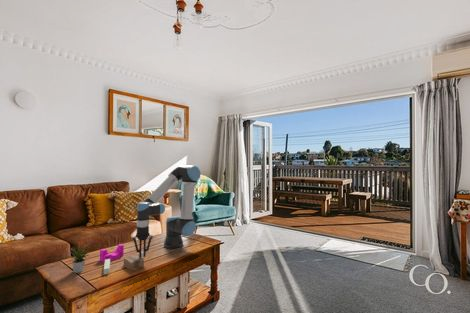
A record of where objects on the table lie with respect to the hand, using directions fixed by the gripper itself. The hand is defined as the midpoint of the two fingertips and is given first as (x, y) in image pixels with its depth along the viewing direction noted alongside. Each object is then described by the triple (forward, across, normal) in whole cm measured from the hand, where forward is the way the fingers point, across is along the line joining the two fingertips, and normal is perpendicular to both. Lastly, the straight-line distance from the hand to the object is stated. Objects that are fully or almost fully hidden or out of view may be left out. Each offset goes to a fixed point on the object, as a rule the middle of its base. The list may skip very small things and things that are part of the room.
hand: (142, 262), depth 167 cm
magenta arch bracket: (+2, +19, -18) cm, 26 cm away
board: (+2, +21, 0) cm, 21 cm away
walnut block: (+2, +5, +1) cm, 6 cm away
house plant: (+2, +38, -2) cm, 38 cm away
